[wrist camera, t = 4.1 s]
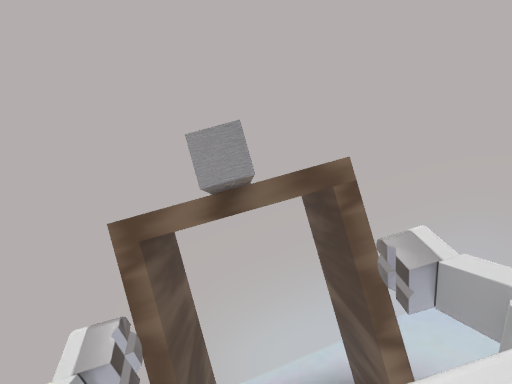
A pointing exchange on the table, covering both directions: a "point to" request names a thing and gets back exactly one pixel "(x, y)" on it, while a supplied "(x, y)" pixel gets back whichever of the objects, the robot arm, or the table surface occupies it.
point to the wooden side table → (330, 254)
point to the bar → (220, 157)
